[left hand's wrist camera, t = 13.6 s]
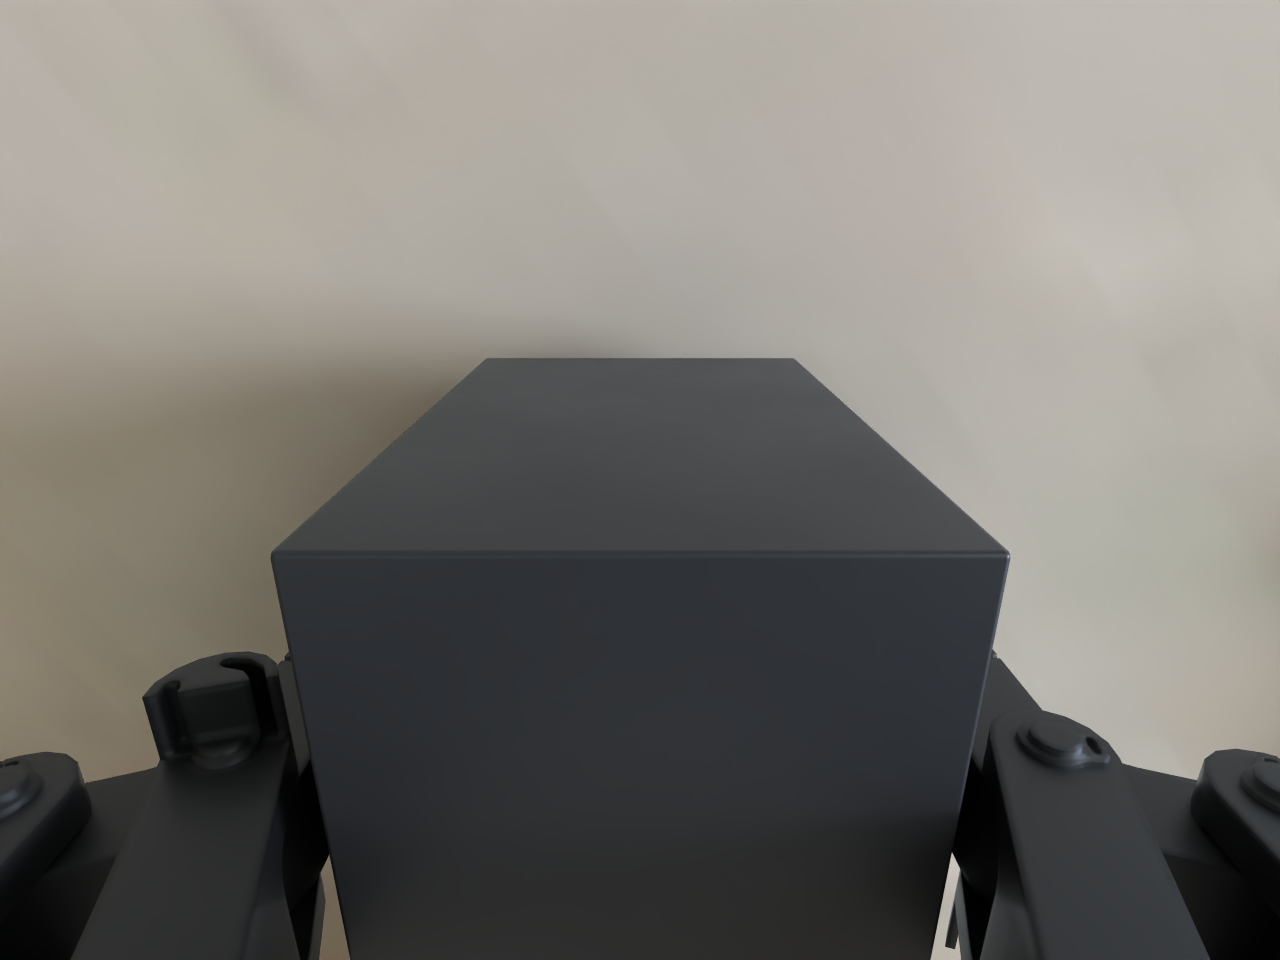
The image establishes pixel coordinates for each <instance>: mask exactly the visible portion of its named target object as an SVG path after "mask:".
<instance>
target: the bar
mask: <svg viewBox="0 0 1280 960" xmlns="http://www.w3.org/2000/svg"><path fill="white" fill-rule="evenodd" d="M1009 562H1010V554H1009V551H1007V550H1006V549H1005V548H1004V547H1003V546H1002V545H1001V544H1000V543H999V542H997V541H996V540H995V539H994V538H993V537H992V536H991V535H990V534H989V533H987V532H986V531H985V530H984V529H983V528H982V527H981V526H980V525H979V524H977V523H976V522H975V521H974V520H973V519H972V518H971V517H970V516H969V515H967V514H966V513H965V512H964V511H963V510H962V509H961V508H960V507H959V506H957V505H956V504H955V503H954V502H953V501H952V500H951V499H950V498H949V497H947V496H946V495H945V494H944V493H943V492H942V491H941V490H940V489H939V488H937V487H936V486H935V485H934V484H933V483H932V482H931V481H930V480H929V479H927V478H926V477H925V476H924V475H923V474H922V473H921V472H920V471H919V470H917V469H916V468H915V467H914V466H913V465H912V464H911V463H910V462H909V461H907V460H906V459H905V458H904V457H903V456H902V455H901V454H900V453H899V452H897V451H896V450H895V449H894V448H893V447H892V446H891V445H890V444H889V443H887V442H886V441H885V440H884V439H883V438H882V437H881V436H880V435H879V434H877V433H876V432H875V431H874V430H873V429H872V428H871V427H870V426H869V425H867V424H866V423H865V422H864V421H863V420H862V419H861V418H860V417H858V416H857V415H856V414H855V413H854V412H853V411H852V410H851V409H850V408H848V407H847V406H846V405H845V404H844V403H843V402H842V401H841V400H840V399H838V398H837V397H836V396H835V395H834V394H833V393H832V392H831V391H830V390H828V389H827V388H826V387H825V386H824V385H823V384H822V383H821V382H820V381H818V380H817V379H816V378H815V377H814V376H813V375H812V374H811V373H810V372H808V371H807V370H806V369H805V368H804V367H803V366H802V365H801V364H800V363H798V362H797V361H796V360H795V359H793V358H488V359H486V360H484V361H483V362H482V363H481V364H480V365H479V366H478V367H477V368H476V369H474V370H473V371H472V372H471V373H470V374H469V375H468V376H467V377H466V378H464V379H463V380H462V381H461V382H460V383H459V384H458V385H457V386H456V387H454V388H453V389H452V390H451V391H450V392H449V393H448V394H447V395H446V396H444V397H443V398H442V399H441V400H440V401H439V402H438V403H437V404H436V405H434V406H433V407H432V408H431V409H430V410H429V411H428V412H427V413H426V414H424V415H423V416H422V417H421V418H420V419H419V420H418V421H417V422H416V423H414V424H413V425H412V426H411V427H410V428H409V429H408V430H407V431H406V432H404V433H403V434H402V435H401V436H400V437H399V438H398V439H397V440H396V441H394V442H393V443H392V444H391V445H390V446H389V447H388V448H387V449H386V450H384V451H383V452H382V453H381V454H380V455H379V456H378V457H377V458H376V459H374V460H373V461H372V462H371V463H370V464H369V465H368V466H367V467H366V468H364V469H363V470H362V471H361V472H360V473H359V474H358V475H357V476H356V477H354V478H353V479H352V480H351V481H350V482H349V483H348V484H347V485H346V486H344V487H343V488H342V489H341V490H340V491H339V492H338V493H337V494H336V495H334V496H333V497H332V498H331V499H330V500H329V501H328V502H327V503H326V504H324V505H323V506H322V507H321V508H320V509H319V510H318V511H317V512H316V513H314V514H313V515H312V516H311V517H310V518H309V519H308V520H307V521H306V522H304V523H303V524H302V525H301V526H300V527H299V528H298V529H297V530H296V531H294V532H293V533H292V534H291V535H290V536H289V537H288V538H287V539H286V540H284V541H283V542H282V543H281V544H280V545H279V546H278V547H277V548H276V549H274V550H273V551H272V554H271V563H272V568H273V573H274V578H275V583H276V588H277V593H278V598H279V603H280V608H281V613H282V618H283V623H284V628H285V633H286V638H287V643H288V648H289V653H290V658H291V663H292V668H293V673H294V678H295V683H296V688H297V693H298V698H299V703H300V708H301V713H302V719H303V724H304V729H305V734H306V739H307V744H308V749H309V754H310V759H311V764H312V769H313V774H314V779H315V784H316V789H317V794H318V799H319V804H320V809H321V814H322V819H323V824H324V829H325V834H326V839H327V844H328V849H329V854H330V859H331V864H332V869H333V875H334V880H335V885H336V890H337V895H338V900H339V905H340V910H341V915H342V920H343V925H344V930H345V935H346V940H347V945H348V950H349V955H350V960H930V959H931V954H932V949H933V944H934V939H935V934H936V929H937V924H938V919H939V914H940V909H941V904H942V899H943V894H944V889H945V884H946V879H947V874H948V869H949V864H950V859H951V854H952V849H953V843H954V838H955V833H956V828H957V823H958V818H959V813H960V808H961V803H962V798H963V793H964V788H965V783H966V778H967V773H968V768H969V763H970V758H971V753H972V748H973V743H974V738H975V733H976V728H977V723H978V718H979V713H980V708H981V703H982V698H983V693H984V688H985V683H986V678H987V673H988V668H989V662H990V657H991V652H992V647H993V642H994V637H995V632H996V627H997V622H998V617H999V612H1000V607H1001V602H1002V597H1003V592H1004V587H1005V582H1006V577H1007V572H1008V567H1009Z"/></svg>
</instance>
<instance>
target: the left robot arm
mask: <svg viewBox="0 0 1280 960" xmlns="http://www.w3.org/2000/svg"><path fill="white" fill-rule="evenodd" d="M996 655H997V654H996V653H995V652H994V650H993V649H992V652H991V657H990V662H989V668H988V673H987V678H986V683H985V688H984V693H983V698H982V703H981V708H980V713H979V718H978V723H977V728H976V733H975V738H974V743H973V748H972V753H971V758H970V763H969V768H968V773H967V778H966V783H965V788H964V793H963V798H962V803H961V808H960V813H959V818H958V823H957V828H956V833H955V838H954V843H953V849H952V853H953V855H954V857H955V859H956V861H957V863H958V865H959V867H960V873H959V878H958V883H957V888H956V892H955V897H954V902H953V907H952V911H951V916H950V921H949V926H948V931H947V937H946V944H945V947H948V948H952V949H955V947H956V942H957V937H958V935H959V944H960V952H961V960H1280V758H1277V757H1276V756H1273V755H1269V754H1265V753H1260V752H1254V751H1247V750H1241V749H1230V750H1220V751H1215V752H1214V753H1212V754H1211V755H1210V756H1208V757H1207V758H1206V759H1205V760H1204V762H1203V765H1202V768H1201V771H1200V774H1199V777H1198V780H1192V779H1188V778H1183V777H1178V776H1174V775H1169V774H1164V773H1160V772H1155V771H1150V770H1146V769H1141V768H1137V767H1133V766H1130V765H1126V764H1122V762H1121V760H1120V758H1119V757H1118V755H1117V754H1116V753H1115V751H1114V750H1113V749H1112V747H1111V746H1110V745H1109V743H1108V742H1107V741H1105V740H1104V739H1103V738H1101V737H1100V736H1099V735H1097V734H1096V733H1095V732H1093V731H1092V730H1091V729H1090V728H1088V727H1086V726H1084V725H1082V724H1080V723H1077V722H1075V721H1073V720H1071V719H1069V718H1067V717H1065V716H1061V715H1057V714H1054V713H1050V712H1046V711H1043V710H1042V709H1041V708H1040V707H1039V706H1038V704H1037V703H1036V702H1035V701H1034V700H1033V698H1032V697H1031V696H1030V695H1029V693H1028V692H1027V691H1026V690H1025V688H1024V687H1023V686H1022V685H1021V684H1020V682H1019V681H1018V680H1017V679H1016V677H1015V676H1014V675H1013V674H1012V673H1011V671H1010V670H1009V669H1008V668H1007V666H1006V665H1005V664H1004V663H1003V661H1002V660H1001V659H1000V658H997V656H996ZM142 699H143V702H144V705H145V709H146V712H147V716H148V719H149V723H150V726H151V729H152V733H153V736H154V740H155V743H156V746H157V750H158V753H159V757H160V761H159V763H158V766H157V767H155V768H152V769H148V770H144V771H140V772H135V773H131V774H126V775H121V776H117V777H112V778H107V779H103V780H98V781H93V782H89V783H85V782H84V780H83V777H82V774H81V771H80V768H79V765H78V762H77V761H75V760H74V759H72V758H71V757H70V756H68V755H67V754H62V753H53V752H41V753H35V754H28V755H22V756H17V757H14V758H10V759H6V760H5V761H0V960H319V954H320V945H321V937H322V928H323V919H324V910H325V895H324V888H323V883H322V878H321V870H322V868H323V866H324V864H325V862H326V860H327V858H328V856H329V849H328V844H327V839H326V834H325V829H324V824H323V819H322V814H321V809H320V804H319V799H318V794H317V789H316V784H315V779H314V774H313V769H312V764H311V759H310V754H309V749H308V744H307V739H306V734H305V729H304V724H303V719H302V713H301V708H300V703H299V698H298V693H297V688H296V683H295V678H294V673H293V668H292V663H291V658H290V653H289V652H288V653H287V655H286V656H285V660H284V661H281V662H280V663H279V664H278V666H277V663H276V662H274V661H273V660H272V659H270V658H269V657H268V656H267V655H263V654H258V653H253V652H232V653H223V654H219V655H215V656H210V657H206V658H202V659H199V660H196V661H194V662H192V663H189V664H187V665H185V666H182V667H180V668H177V669H175V670H174V671H172V672H171V673H169V674H168V675H166V676H165V677H163V678H161V679H160V680H158V681H157V682H155V683H154V684H153V686H152V687H151V688H150V689H149V690H148V691H147V693H146V694H145V695H144V696H143V697H142Z"/></svg>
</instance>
